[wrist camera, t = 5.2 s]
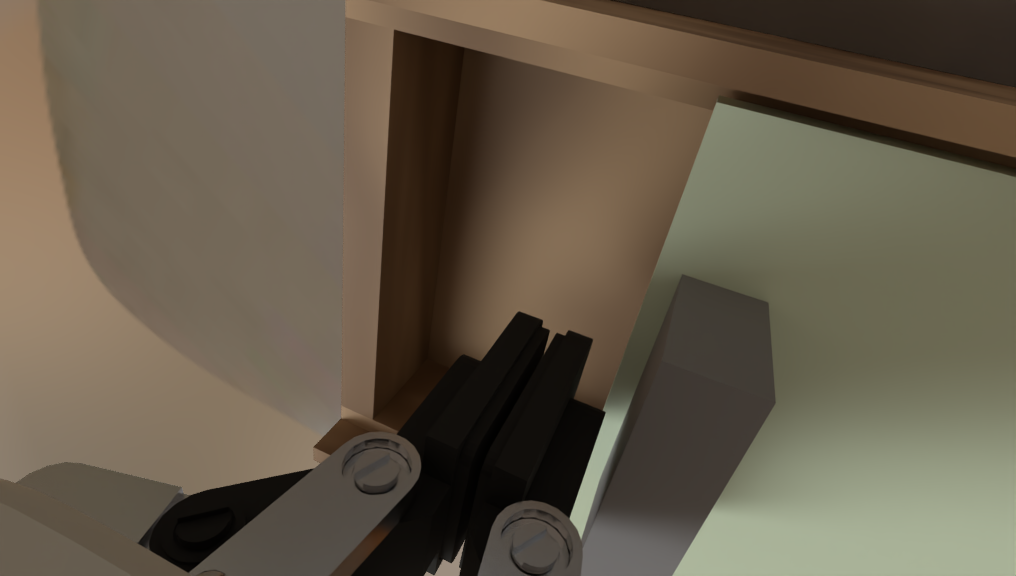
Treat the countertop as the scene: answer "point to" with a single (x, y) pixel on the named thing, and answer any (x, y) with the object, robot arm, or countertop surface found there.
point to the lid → (816, 366)
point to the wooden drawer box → (561, 169)
